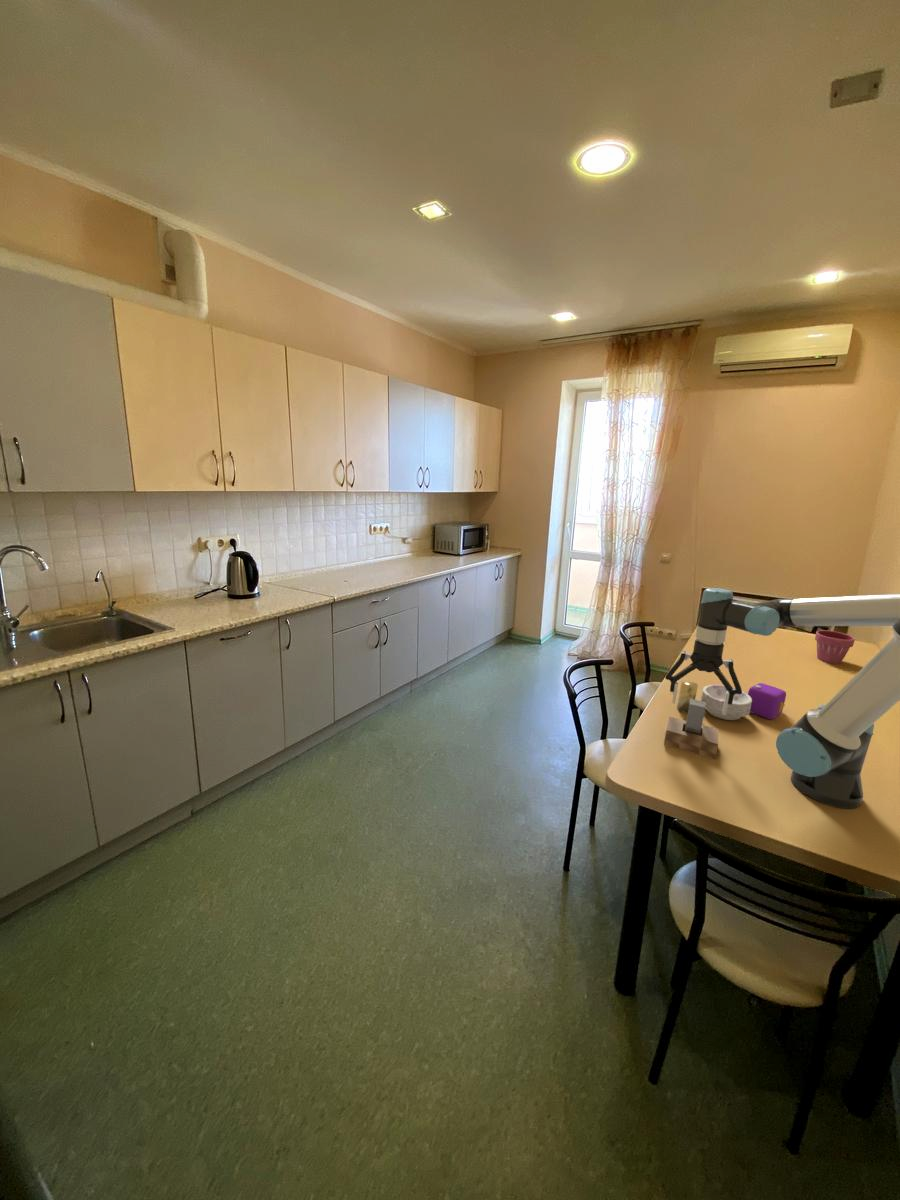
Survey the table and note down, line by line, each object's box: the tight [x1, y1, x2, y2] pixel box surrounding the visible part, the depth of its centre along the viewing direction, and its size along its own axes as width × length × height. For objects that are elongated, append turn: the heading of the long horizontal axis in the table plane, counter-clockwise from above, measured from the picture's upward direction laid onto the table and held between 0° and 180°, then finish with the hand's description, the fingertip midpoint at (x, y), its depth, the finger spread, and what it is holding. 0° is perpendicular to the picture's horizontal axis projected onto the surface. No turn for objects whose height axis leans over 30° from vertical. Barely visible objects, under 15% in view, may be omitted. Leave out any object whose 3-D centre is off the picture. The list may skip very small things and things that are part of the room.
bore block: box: [663, 716, 719, 760], centre depth 145 cm, size 14×10×5 cm
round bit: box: [676, 680, 699, 714], centre depth 167 cm, size 5×5×10 cm
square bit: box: [684, 699, 706, 735], centre depth 144 cm, size 4×4×14 cm
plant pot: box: [814, 629, 856, 664], centre depth 222 cm, size 14×14×13 cm
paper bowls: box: [700, 684, 752, 721], centre depth 165 cm, size 15×15×8 cm
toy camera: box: [747, 682, 787, 720], centre depth 168 cm, size 11×14×10 cm
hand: (698, 707), depth 142 cm, fingers open, 13 cm apart
